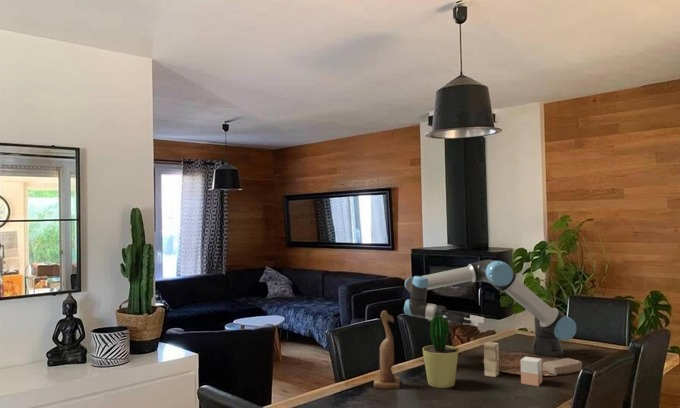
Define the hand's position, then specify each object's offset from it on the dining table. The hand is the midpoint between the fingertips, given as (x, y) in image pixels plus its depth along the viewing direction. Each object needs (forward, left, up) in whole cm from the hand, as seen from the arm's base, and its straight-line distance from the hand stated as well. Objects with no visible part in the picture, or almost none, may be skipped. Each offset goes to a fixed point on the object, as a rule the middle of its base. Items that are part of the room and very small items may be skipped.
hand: (481, 321), depth 236 cm
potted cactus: (+24, -10, -24) cm, 35 cm away
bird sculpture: (+38, -29, -24) cm, 53 cm away
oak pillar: (0, +4, -23) cm, 24 cm away
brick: (-23, +29, -24) cm, 44 cm away
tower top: (+2, +22, -19) cm, 29 cm away
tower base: (+2, +22, -24) cm, 32 cm away
